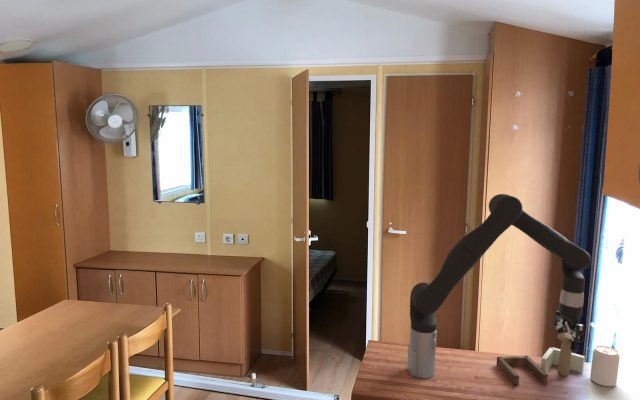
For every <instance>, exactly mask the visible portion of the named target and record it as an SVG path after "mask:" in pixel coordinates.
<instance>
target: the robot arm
mask: <svg viewBox="0 0 640 400" xmlns="http://www.w3.org/2000/svg"><path fill="white" fill-rule="evenodd" d="M488 211H489V212H490V214H489V215H488V216H487V217H486V219H485V220H484V221H483V222H482V223H481V224H480V225H479V226H477V227H476V228H474V229H473V230H471V231H470V232H468V233H467V234H465V235H464V236H463V237H461V239H459V241H458V242H457V243H456V244H455V245H454V246H453V247H452V249H451V250H450V251H449V252H448V254H447V256H446V258H445V260H444V262H443V263H442V266H441V268H440V271H439V272H438V274H437V275H436V277H434V279H433V280H432V281H431V282H430V283H428V282H418V283H417V284H415V285H414V286H413V287H412V289H411V292H410V299H409V317H410V318H409V320H410V336H409V337H410V338H409V339H410V340H409V344H408V345H407V362H406V364H407V365H406V369H407V371H408V373H409V374H410V376H411V377H413V378H418V379H430V378H433V376H435V370H436V351H437V350H436V348H437V334H438V333H437V331H438V322H437V316H436V311H438V310H439V309H440V308H441V307H442V305H443V303H444V302H445V300H447V298H448V296H449V295H450V293H451V292H452V291H453V289H454V288H455V287H456V286H457V285H458V284H459V283H460V281H461V280H463V278H465V276H466V275H467V273H469V271H470V270H471V269H472V268H473V267H474V266H475V265H476V264H477V262H479V260H480V259H481V258H482V257H483V256H484V254H485V253H486V252H487V251H488V250H489V249H490V248H491V247H492V245H493V244H494V243H495V242H496V240H497V239H498V238H499V237H500V236H501V235H502V234H503V233H504V232H506V230H508V229H509V228H510V227H511V226H513V227H515V229H518V230H520V231H521V232H522V233H524V234H525V235H527V236H528V237H529V238H530V239H531V240H533V241H534V242H536V243H537V245H540V246H541V247H542V248H544V249H546V250H547V251H548V252H550V253H551V254H553V255H555V256H556V257H559V258H560V259H561V261H560V262H561V270H562V271H561V272H562V283H561V291H560V295H559V302H558V303H559V305H558V310H555V313H554V318H553V319H554V321H553V326H554V327H555V329H556V339H557V340H558V341H560V340H559V339H558V334H559V333H565V330H564V329H566V331H567V333H569V334H570V335H571V339H572V340H571V347H570V350H571V352H572V351H573V352H574V351H575V352H576V351H578V348H579V342H584V340H585V325H584V324H580V323H579V319H580V318H582V316H583V310H584V299H585V294H584V293H585V287H586V286H585V284H586V279H585V276H584V275H583V273H582V271H583V270H587V269H588V268H590V267H591V265H592V257H591V255H590V253H589V252H587V251H586V250H585V249H584V248H582V247H580V246H578V245H576V244H575V243H573V242H572V241H569V239H567V238H566V237H565V236H564V235H563V234H561V233H559V232H558V231H556V230H555V229H554V228H552V227H550V226H549V225H548V224H546V223H544V222H541V220H538V219H536V218H534V217H533V216H532V215H530V214H529V213H527V212H526V211H524V209H523V203H522V201H521V200H520V199H519V198H518V197H515V196H513V195H509V194H507V193H506V194H505V193H499V194H495V195H494V196H492V198H490V200H489V203H488ZM574 335H575V337H574Z"/></svg>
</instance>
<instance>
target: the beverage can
mask: <svg viewBox="0 0 640 400" xmlns="http://www.w3.org/2000/svg"><path fill="white" fill-rule="evenodd" d="M620 358H621V357H620V355H619V351H618V350H617V349H615V348H614V347H610V346H608V345H607V346H606V345H596V346H595V348H594V349H593V351H592V359H591V365H590V366H591V368H590V375H589V377H590V379H591V381H593V382H594V383H596V384H597V385H600V386H603V387H614V386H616V385H617V382H618V381H617V380H618V373H619V365H620Z"/></svg>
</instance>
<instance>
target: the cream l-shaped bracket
mask: <svg viewBox="0 0 640 400" xmlns="http://www.w3.org/2000/svg"><path fill="white" fill-rule="evenodd" d="M560 350H561V348H557V347H554V346H553V347H549V348H548V349H547V350H546V351H545V353H544V354H543V356H542V357H541V362H540V368H541V369H542V370H543V371H544V372H546V373H548V371H549V370H550V368H551V367H552V366H553V365H554V366H557V367H559V355H560ZM585 358H586V356H585V355H582V354H577V353H575V352H571V366H570V370H569V371H574V372H578V373H581V374H583V372H584V369H585V367H584V366H585Z"/></svg>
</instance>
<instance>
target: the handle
mask: <svg viewBox="0 0 640 400" xmlns="http://www.w3.org/2000/svg"><path fill="white" fill-rule="evenodd" d="M574 337H575V334H574ZM558 339H559V340H558ZM558 339H557V340H558V341H561V345H560V349H561V350H560V355H559V366H558V374H560V376H564V377H567V376H569V373H570V371H571V370H570V366H571V353H572V350H570V347H571V340H572V339H571V335H570V334H569V333H568V332H564V333H559V334H558Z"/></svg>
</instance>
